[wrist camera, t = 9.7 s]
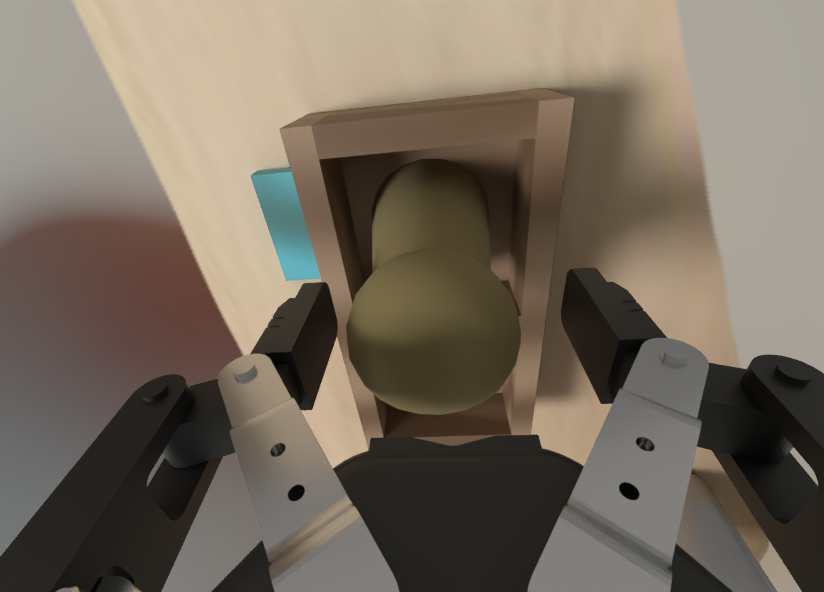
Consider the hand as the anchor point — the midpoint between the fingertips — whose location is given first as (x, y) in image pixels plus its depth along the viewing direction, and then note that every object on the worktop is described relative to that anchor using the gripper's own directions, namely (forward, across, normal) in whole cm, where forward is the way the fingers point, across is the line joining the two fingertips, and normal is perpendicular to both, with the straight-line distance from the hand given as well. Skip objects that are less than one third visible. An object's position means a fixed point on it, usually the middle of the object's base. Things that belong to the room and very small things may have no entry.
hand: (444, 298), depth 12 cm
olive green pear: (+8, 0, 0) cm, 8 cm away
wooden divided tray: (+8, +2, +5) cm, 10 cm away
